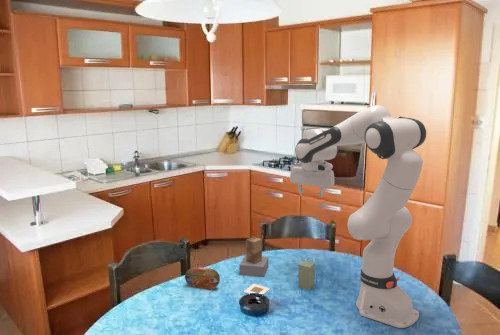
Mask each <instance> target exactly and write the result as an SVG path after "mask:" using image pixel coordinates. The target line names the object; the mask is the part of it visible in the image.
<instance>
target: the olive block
mask: <svg viewBox="0 0 500 335" xmlns="http://www.w3.org/2000/svg"><path fill="white" fill-rule="evenodd" d="M315 270H316V262H312V261H309V260H302V261H301V262H300V263H299V264H298V285H297V286H298V288H300V289H303V290H308V291H310V290H312V289H313V288H314V286H315V280H316V279H315V276H316V274H315V273H316V271H315Z"/></svg>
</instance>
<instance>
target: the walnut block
mask: <svg viewBox="0 0 500 335" xmlns="http://www.w3.org/2000/svg"><path fill="white" fill-rule="evenodd" d="M245 243H246V244H245V250H246V251H245V252H246V253H245V255H246V261H249V262H252V263H257V262H259V261H261V260H262V256H263V246H262V244H263V240H262V238H259V237H256V236H252V237H251V236H250V237H249V238H247V239H245Z"/></svg>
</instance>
